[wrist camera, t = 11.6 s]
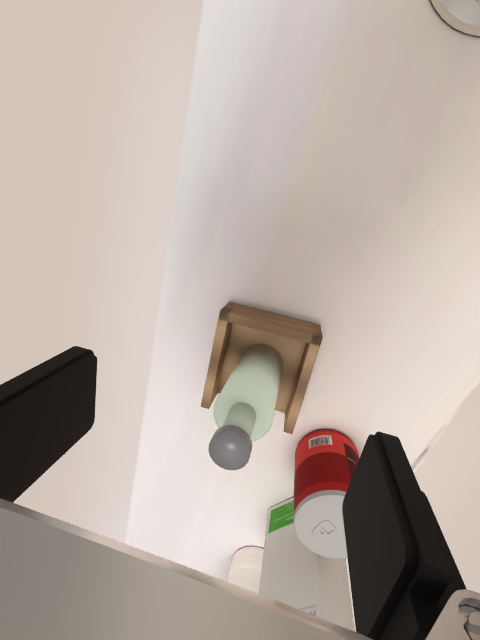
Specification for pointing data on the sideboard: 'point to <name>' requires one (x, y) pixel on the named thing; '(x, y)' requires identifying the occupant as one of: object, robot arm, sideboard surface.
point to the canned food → (323, 491)
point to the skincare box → (302, 572)
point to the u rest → (272, 329)
